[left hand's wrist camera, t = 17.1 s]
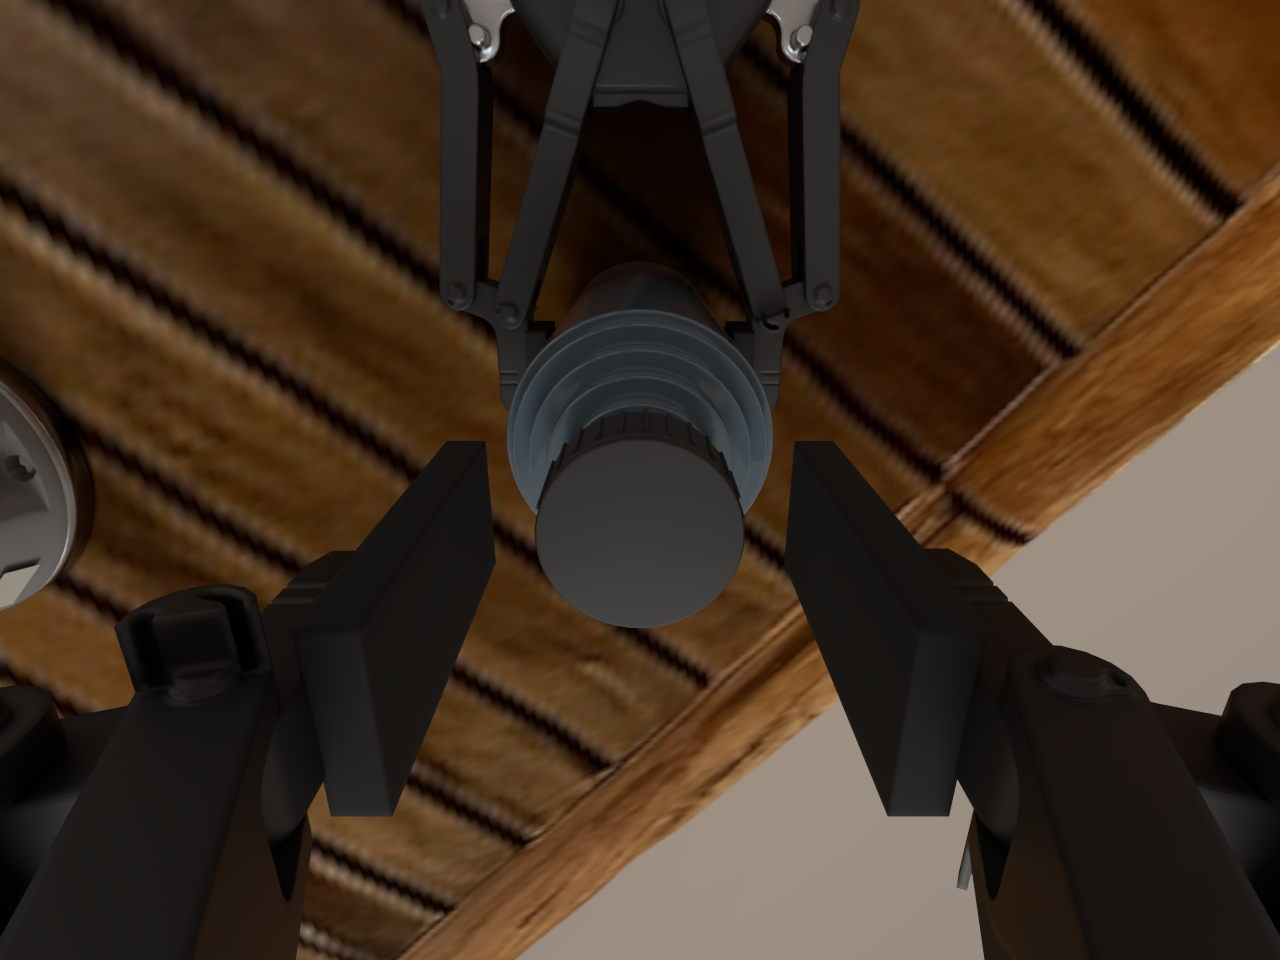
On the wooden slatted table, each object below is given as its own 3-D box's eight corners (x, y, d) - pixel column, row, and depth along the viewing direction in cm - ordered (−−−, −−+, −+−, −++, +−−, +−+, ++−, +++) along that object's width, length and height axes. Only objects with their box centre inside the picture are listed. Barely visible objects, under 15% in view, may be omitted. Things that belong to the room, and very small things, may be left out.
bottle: (545, 363, 33) (405, 589, 13) (610, 232, 31) (557, 272, 11) (666, 427, 34) (703, 721, 15) (737, 306, 32) (892, 458, 12)
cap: (754, 557, 15) (769, 601, 13) (579, 603, 15) (571, 652, 13) (708, 384, 13) (718, 409, 12) (516, 439, 14) (500, 471, 12)
